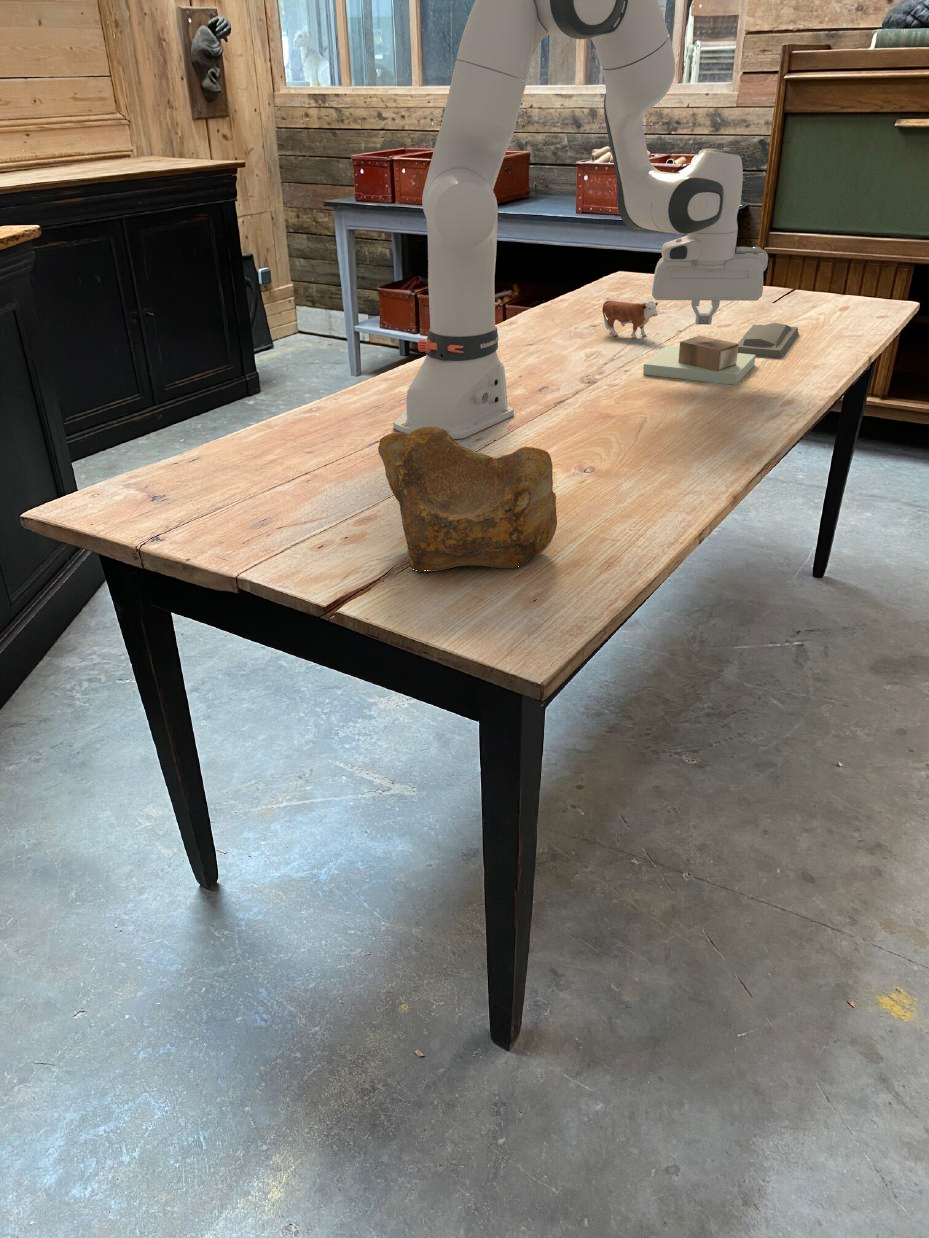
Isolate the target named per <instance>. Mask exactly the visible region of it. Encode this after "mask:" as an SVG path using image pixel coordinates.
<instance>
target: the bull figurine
mask: <svg viewBox="0 0 929 1238" xmlns="http://www.w3.org/2000/svg"><path fill="white" fill-rule="evenodd" d="M658 304H659V303H658V301H657V302H655V301H653V300H649V301H647V300H642V301H635V302H623V301H617V300H616V301H615V300H610V299H609V300H605V302H604V303H603V304H602V316H603V320H604V326H605V329H606V330H608V331H610V333H611V335H613V336H612V337H618V336H619V334H618V333H617V332H616V330H615V326H614V324H615V321H618V322H619V323H620V324H621V326H622V327H625V325H626V324H632V333H631V335H630V336H631V337H632V339H637V335H636V334H637V333H636V332H637V331H638V328H639V329H640V336H641V337H642V338H643V337H644V338H645V337H647V334H646V332H645V325H646V324H647V323H648V322H649V320H650V319H652V318H653V317H657V316H658V313H659V312H657V306H658Z"/></svg>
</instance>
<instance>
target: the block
mask: <svg viewBox="0 0 929 1238" xmlns="http://www.w3.org/2000/svg"><path fill="white" fill-rule="evenodd" d="M738 343H739V342H737V343H736V342H732V341H728V340H722V339H719V338H713V337H709V336H704V335H697V336H693V337H690V338H687V339H684V340H681V341H679V347H680V349H679V360H678V362H679V363H683V364H687V365H691V366H695V367H700V368H704V369H708V370H712V371H716V372H717V371H720V370H723V369H726V368H729V367H732V366H735V365H736V363H737V354H738V346H739V344H738Z"/></svg>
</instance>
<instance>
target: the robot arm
mask: <svg viewBox="0 0 929 1238" xmlns="http://www.w3.org/2000/svg"><path fill="white" fill-rule="evenodd" d="M547 35H548V36H549V37H550V36H551V37H553V38H557V39H574V40H588V39H590V40H591V41H592V43H593V46H594V47H595V52H596V54H597V58H598V63H599V65H600V69H601V71H602V76H603V80H604V85H605V93H604V98H603V114H604V122H605V126H606V127H605V128H606V132H607V139H608V142H609V146H610V153H611V155H612V156H611V157H612V163H613V167H614V172H615V178H616V197H617V198H616V201H617V210H618V214H619V216H620V218H621V221H622V222H624V224H625V225H626V226H627V227H629V228H630V229H633V230H638V231H639V230H645V231H657V232H661V233H671V234H676V235H685V236H682V237H679V238H676V239H672V240H670V241H666V242H665V243H663V244H662V247H661V258H659V260H658V261H657V263H656V266H655V269H654V274H653V280H652V286H651V296H652V298H653V299H654V300H655V301H690V304H691V305H690V306H691V308H692V310H693V312H694V315H695V320H694V322H695V325H697V326H698V325H704V326H705V325H709V326H711V325H712V320H713V317H714V315H715V313H716V312H717V310H718V309H719V308H720V304H721V303H720V302H723V301H725V302H726V301H736V302H737V301H741V302H742V301H744V302H746V301H747V302H749V301H752V302H754V301H755V302H757V301H759V300H760V299H761V298H762V297H763V294H764V293H763V292H764V272H765V271H766V269H767V267H768V261H769V255H768V253H767V251H766V250H765V249H762V248H761V247H760V246H753V247H750V246H749V247H748V246H737V238H738V231H739V230H738V229H739V227H738V226H739V225H738V213H739V209H740V207H741V201H742V195H743V193H742V192H743V180H744V175H743V174H744V172H743V170H744V169H743V162H742V157H741V156H740V155H739V154H738V153H737V152H734V151H731V150H725V149H719V148H704V149H701V150H699V151H698V153H697V155H696V157H695V159H694V160H692V162H690V164H688V165H687V166H686V167H684V168H682V169H681V170H679V171H677V172H667V171H661V170H659V169H657V168H656V167H655V166H654V164H652V162H651V161H650V159H649V153H648V147H647V143H646V142H647V141H646V135H645V130H644V123H643V122H644V120H643V119H644V114H645V113H646V112H648V111H649V110H650V109H652V108H653V107H654V106H656V105H657V104H658V103H659V102H660V101H662V100H663V99H664V98H665V96H666V95H667V93H668V92H669V90H670V88H671V86H672V84H673V82H674V80H675V75H676V61H675V53H674V50H673V46H672V42H671V41H672V40H671V37H670V34H669V30H668V26H667V23H666V20H665V17H664V15H663V11H662V9H661V7H660V4H659V1H658V0H474V3H473V5H472V8H471V11H470V13H469V16H468V18H467V21H466V24H465V27H464V30H463V33H462V36H461V40H460V44H459V46H458V51H457V55H456V60H455V63H454V69H453V72H452V76H451V82H450V87H449V90H448V95H447V98H446V103H445V107H444V112H443V115H442V121H441V125H440V127H439V131H438V134H437V137H436V142H435V145H434V149H433V152H432V156H431V160H430V164H429V167H428V171H427V176H426V179H425V182H424V183H425V184H424V188H423V192H422V198H421V199H422V200H421V202H422V203H421V205H422V210H423V213H424V216H425V219H426V226H427V227H426V228H427V261H428V263H427V265H428V267H427V272H428V273H427V276H428V277H427V283H428V284H427V285H428V286H427V287H428V302H429V303H428V305H429V324H430V327H429V329H428V333H427V337H426V339H422V338H420V339H419V340H418V342H417V350H418V352H421V353H422V352H425V355H426V356H425V357H424V360H423V362H422V364H421V365H420V367H419V369H418V371H417V373H416V374H415V376H414V379H413V380H412V382H411V384H410V386H409V387H408V389H407V392H406V410H405V411H403V413H402V414H401V415H400V416H398V418H396V419H395V420H394V421H393V429H394V430H396V431H399V432H405V433H407V434H409V433H411V432H412V431H414V430H416V429H420V428H422V427H439V428H442V429H444V430H446V431H447V432H448V434H449V435H450V436H451V437H452V438H453V439H454V440H457V439H461V440H462V439H466V438H468V437H469V436H472V435H475V434H476V433H478V432H481V431H483V430H485V429H487V428H489V427H491V426H494V425H496V424H498V423H500V422H502V421H505V420H506V419H509V418H511V417H513V416H514V415H515V411H514V408H513V407H512V406H510V405H509V404H508V393H507V392H508V391H507V380H506V372H505V371H506V370H505V366H504V364H503V363H502V362H501V360H500V358H499V356H498V353H497V351H498V349H499V334H498V327H497V326H496V318H495V317H496V316H495V315H496V309H495V308H496V307H495V306H496V301H495V300H496V299H495V295H496V294H495V275H496V274H495V273H496V261H497V260H496V259H497V246H498V245H497V243H498V242H497V241H498V217H499V216H498V208H499V207H498V200H497V196H496V194H495V192H494V189H495V185H496V182H497V180H498V179H497V178H498V176H499V173H500V170H501V167H502V165H503V161H504V159H505V156H506V153H507V151H508V148H509V146H510V143H511V142H512V140H513V135H514V131H515V129H516V128H515V127H516V124H517V119H518V115H519V113H520V112H519V111H520V110H521V106H522V105H521V104H522V102H523V101H522V100H523V97H524V94H525V89H526V86H527V81H528V77H529V74H530V69H531V65H532V59H533V57H534V55H535V52H536V50H537V48H538V47H539V45H540V43H541V41H543V39H545V37H546V36H547ZM700 301H710V304H711V308H710V310H708V312H706V313H703V312H702V313H701V312H700V311H699V309H698V307H699V306H700Z"/></svg>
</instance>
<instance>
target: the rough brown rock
mask: <svg viewBox="0 0 929 1238" xmlns="http://www.w3.org/2000/svg"><path fill="white" fill-rule="evenodd" d="M377 451H378V453H379V456H380V458H381V460H382V463H383V466H384V470H385V471H384V472H385V477H386V479H387V482H388V485H389V487H390V490H391V492H392V494H393V496H394V497H395V499H396V500H397V502H398V505H399V509H400V515H401V516H400V517H401V521H402V528H403V529H402V530H403V533H404V536H405V541H406V546H407V551H408V557H409V559H408V560H409V561H408V563H409V565H411V566H410V569H411V568H412V569H414V570H417V571H424V570H426V571H427V570H440V571H444V570H446V569H451V568H455V567H465V566H480V567H482V566H483V567H484V566H485V567H489V568H497V569H515V568H514V567H517V568H521V567H523V566H524V565H525V564H526V563H527V562H528V561H529V560H531V559H535V558H537V557H538V556H539V555H540V554H541V553H543V551H544V550H545V549H547V547H548V546H549V545H550V544H551V542H552V541H553V539H554V536H555V533H556V530H557V527H558V515H557V504H556V503H557V495H556V492H554V490H553V488H554V487H553V486H554V479H553V461H552V458H551V455H550V453H549V452H548V451H546V450H544V449H542V448H538V447H532V446H523V447H520V448H518V449H517V450H515V451H514V452H512V453H509V454H503V455H501V456H500V457H494V456H493V457H492V456H490V455H487V454H485V453H483V452H482V453H481V452H477V451H475V450H472V449H469V448H467V447H465V446H463V445H460V444H459V443H458V442H457V441H456V439H453V438H452V437H451V436H450V435H449V434H448V432H447V431H446V430H444V429H442V428H439V427H422V428H420V429H416V430H414V431H412V432H411V433H409V434H407V433H405V432H401V431H399V432H392V433H388V434H387V435H384V436H383V437H381V438H380V439H379V443H378V448H377ZM518 566H519V567H518ZM520 566H521V567H520ZM412 569H411V570H412Z"/></svg>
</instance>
